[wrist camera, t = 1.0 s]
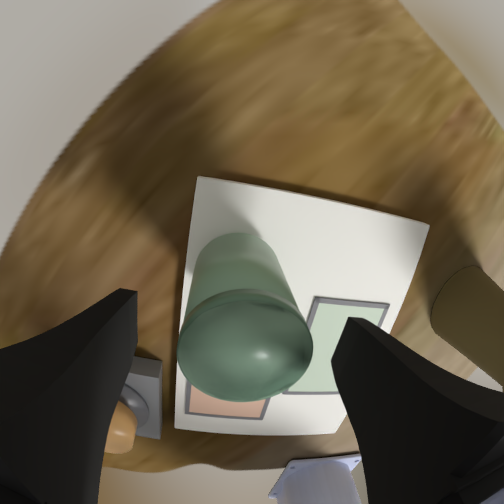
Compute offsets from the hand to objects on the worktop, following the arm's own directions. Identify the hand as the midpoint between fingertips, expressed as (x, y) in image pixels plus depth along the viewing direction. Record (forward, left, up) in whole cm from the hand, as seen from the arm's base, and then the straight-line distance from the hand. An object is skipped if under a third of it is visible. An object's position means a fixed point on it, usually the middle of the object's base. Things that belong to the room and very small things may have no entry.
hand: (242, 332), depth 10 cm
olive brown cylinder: (-1, -17, -7) cm, 18 cm away
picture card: (-5, -4, -6) cm, 9 cm away
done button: (-11, +7, -4) cm, 14 cm away
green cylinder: (0, 0, -6) cm, 6 cm away
